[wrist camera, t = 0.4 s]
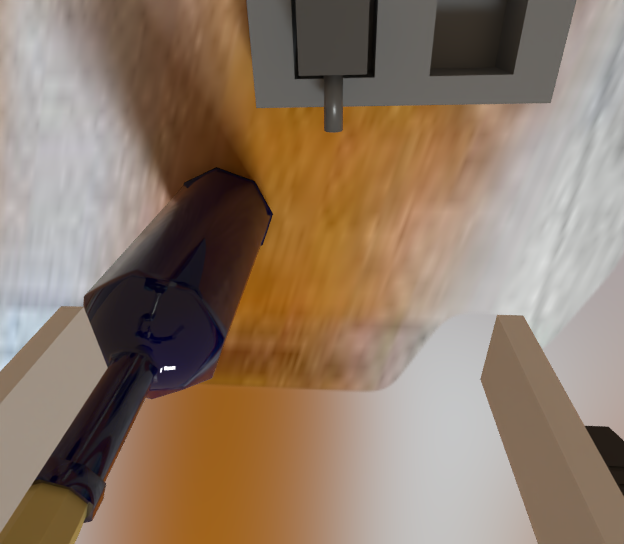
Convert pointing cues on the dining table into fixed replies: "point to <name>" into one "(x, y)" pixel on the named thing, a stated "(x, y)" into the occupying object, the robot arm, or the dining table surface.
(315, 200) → the dining table surface
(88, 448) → the bottle
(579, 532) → the robot arm
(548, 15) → the strip
